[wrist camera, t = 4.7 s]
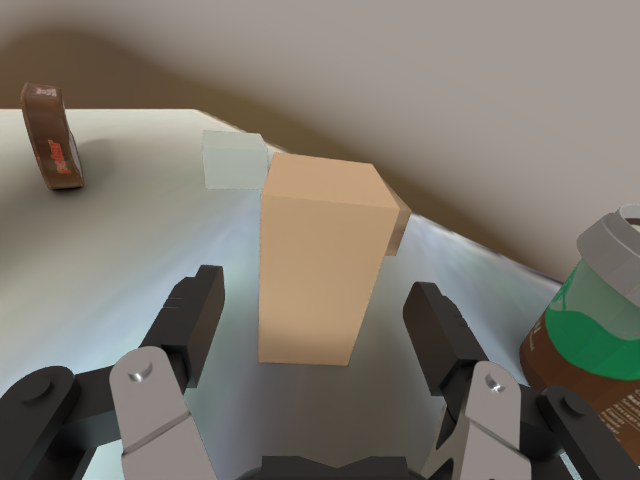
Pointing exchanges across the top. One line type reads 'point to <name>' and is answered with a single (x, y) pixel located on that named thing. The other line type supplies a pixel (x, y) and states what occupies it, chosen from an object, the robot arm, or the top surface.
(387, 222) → the ochre pillar
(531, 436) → the robot arm
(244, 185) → the grey block
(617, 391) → the food container
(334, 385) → the top surface
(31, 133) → the tin
